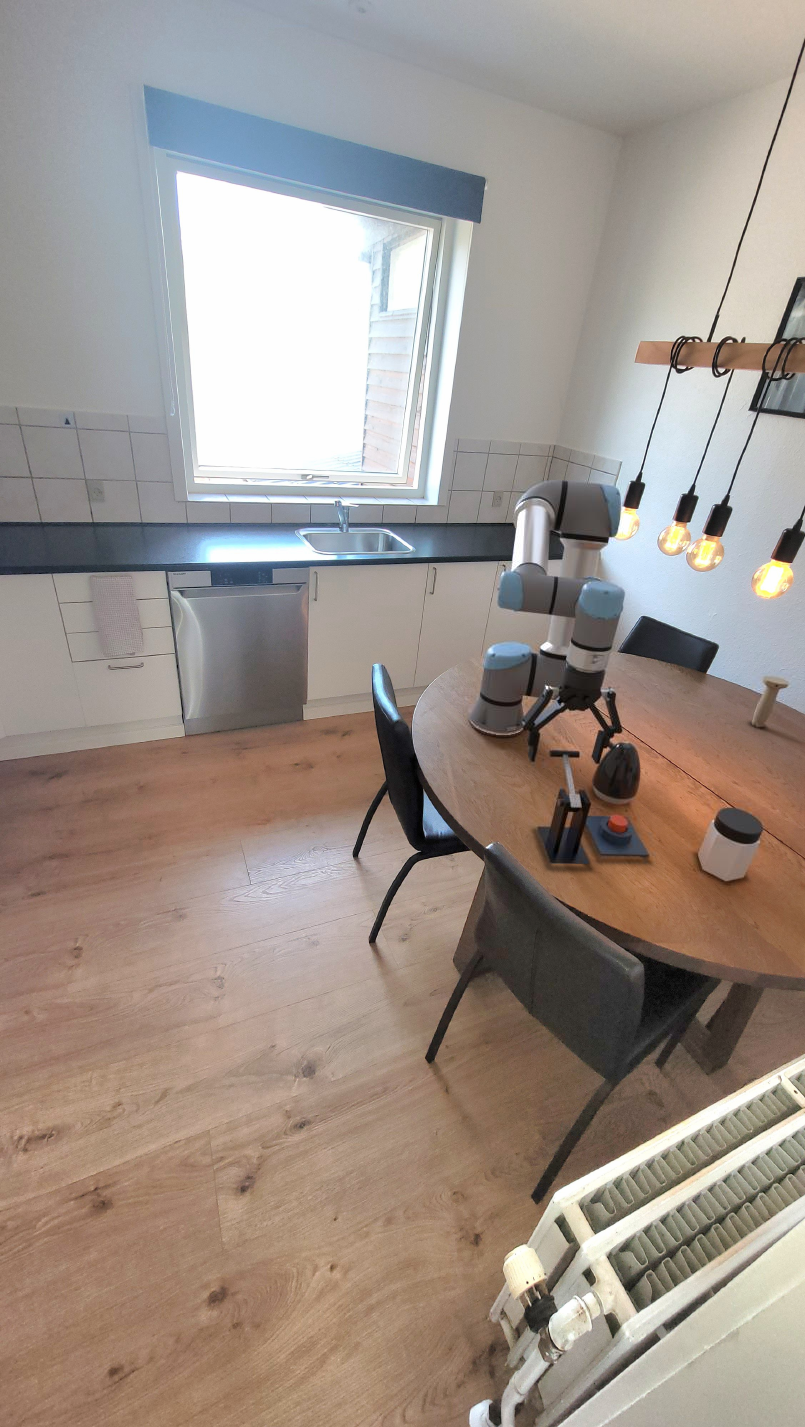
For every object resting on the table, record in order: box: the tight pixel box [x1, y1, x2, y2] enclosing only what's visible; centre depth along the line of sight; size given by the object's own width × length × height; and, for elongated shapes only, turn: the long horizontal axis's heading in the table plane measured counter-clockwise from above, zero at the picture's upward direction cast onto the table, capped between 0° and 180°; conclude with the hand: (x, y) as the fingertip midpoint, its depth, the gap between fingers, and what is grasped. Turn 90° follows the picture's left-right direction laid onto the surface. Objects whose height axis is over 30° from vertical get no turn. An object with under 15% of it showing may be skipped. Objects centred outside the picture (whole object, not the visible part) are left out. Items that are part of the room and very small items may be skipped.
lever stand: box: [536, 788, 592, 865], centre depth 117 cm, size 11×8×14 cm
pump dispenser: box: [591, 740, 641, 806], centre depth 134 cm, size 10×10×15 cm
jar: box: [697, 807, 764, 882], centre depth 117 cm, size 9×8×12 cm
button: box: [608, 814, 628, 833], centre depth 122 cm, size 4×4×2 cm
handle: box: [751, 675, 790, 728], centre depth 171 cm, size 5×6×15 cm
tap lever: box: [548, 749, 582, 813], centre depth 118 cm, size 13×6×2 cm, turn 3°
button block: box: [585, 815, 650, 857], centre depth 123 cm, size 12×10×4 cm
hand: (563, 759), depth 121 cm, fingers open, 13 cm apart
